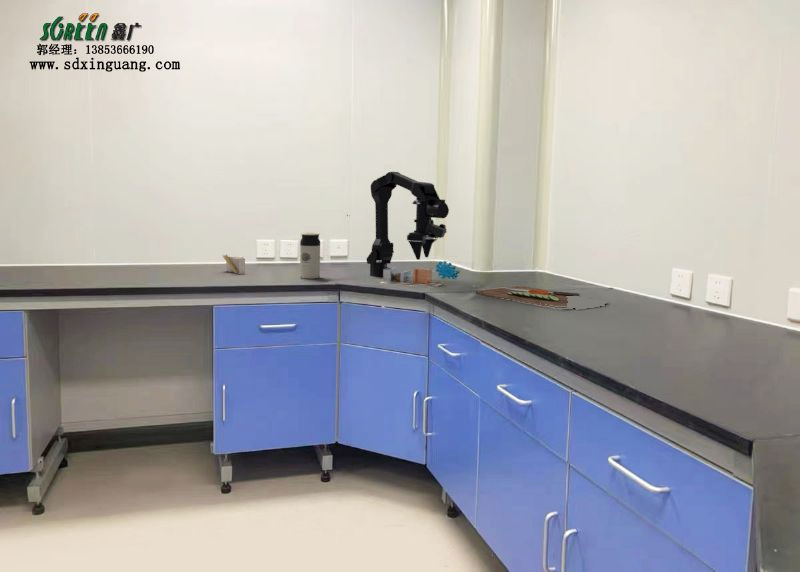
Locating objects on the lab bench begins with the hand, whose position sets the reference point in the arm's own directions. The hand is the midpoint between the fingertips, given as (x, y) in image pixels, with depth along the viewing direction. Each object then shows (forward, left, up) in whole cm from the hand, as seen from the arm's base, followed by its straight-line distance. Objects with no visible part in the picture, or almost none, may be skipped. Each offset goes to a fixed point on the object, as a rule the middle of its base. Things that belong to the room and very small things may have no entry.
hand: (422, 258), depth 255 cm
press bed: (-4, 0, -11) cm, 12 cm away
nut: (-9, 0, -10) cm, 13 cm away
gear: (+3, +24, -11) cm, 27 cm away
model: (-82, -4, -12) cm, 83 cm away
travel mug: (-48, 0, -11) cm, 49 cm away
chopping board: (+45, -2, -12) cm, 47 cm away
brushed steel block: (-12, 0, -10) cm, 16 cm away
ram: (-2, 0, -9) cm, 10 cm away
